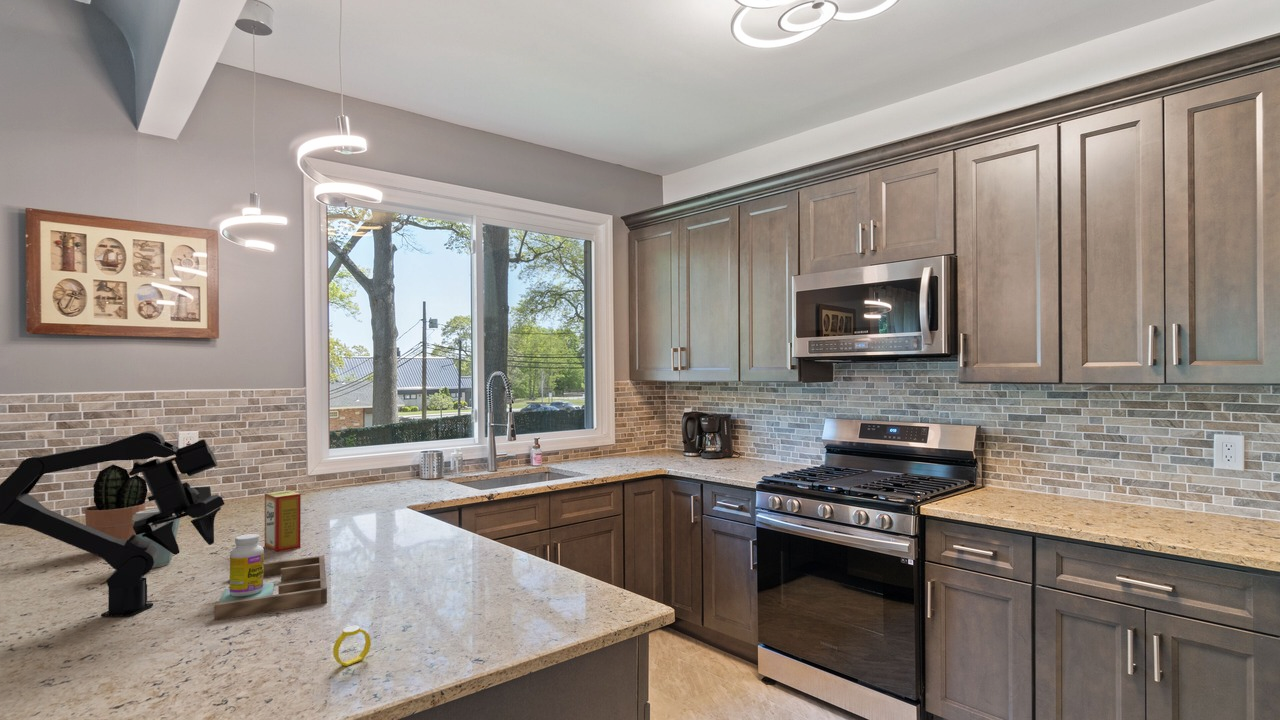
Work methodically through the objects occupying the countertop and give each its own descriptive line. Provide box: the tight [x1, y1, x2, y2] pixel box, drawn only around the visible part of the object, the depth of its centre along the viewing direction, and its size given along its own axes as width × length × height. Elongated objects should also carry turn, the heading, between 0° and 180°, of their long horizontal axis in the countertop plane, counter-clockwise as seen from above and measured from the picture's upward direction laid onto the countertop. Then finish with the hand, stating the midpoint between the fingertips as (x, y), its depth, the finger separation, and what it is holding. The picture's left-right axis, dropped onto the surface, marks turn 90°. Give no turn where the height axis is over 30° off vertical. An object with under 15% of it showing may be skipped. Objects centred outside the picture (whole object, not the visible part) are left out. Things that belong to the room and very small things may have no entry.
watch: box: [332, 625, 372, 667], centre depth 111 cm, size 6×3×6 cm, turn 139°
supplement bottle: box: [229, 533, 265, 597], centre depth 147 cm, size 7×7×13 cm
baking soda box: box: [264, 489, 302, 553], centre depth 188 cm, size 10×6×16 cm
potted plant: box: [84, 463, 149, 540], centre depth 186 cm, size 14×14×25 cm
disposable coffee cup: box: [132, 508, 181, 569], centre depth 171 cm, size 11×11×15 cm
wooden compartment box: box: [213, 555, 328, 621], centre depth 150 cm, size 21×30×3 cm
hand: (194, 549), depth 143 cm, fingers open, 9 cm apart
